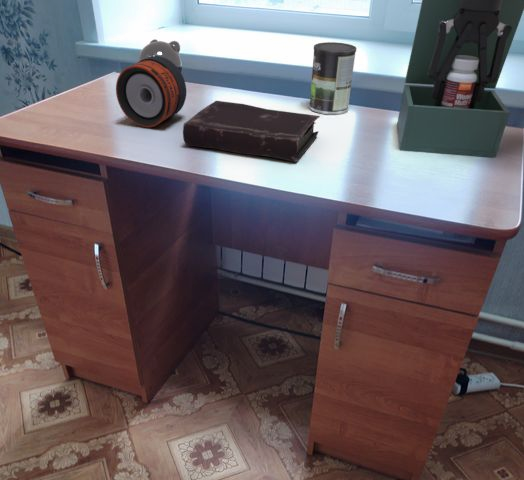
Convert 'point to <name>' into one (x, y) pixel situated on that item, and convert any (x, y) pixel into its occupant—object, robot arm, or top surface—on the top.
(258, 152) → the diary
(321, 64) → the coffee can
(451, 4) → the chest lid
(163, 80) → the oil filter
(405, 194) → the top surface
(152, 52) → the piggy bank
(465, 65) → the pill bottle
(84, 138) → the top surface
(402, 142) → the chest
